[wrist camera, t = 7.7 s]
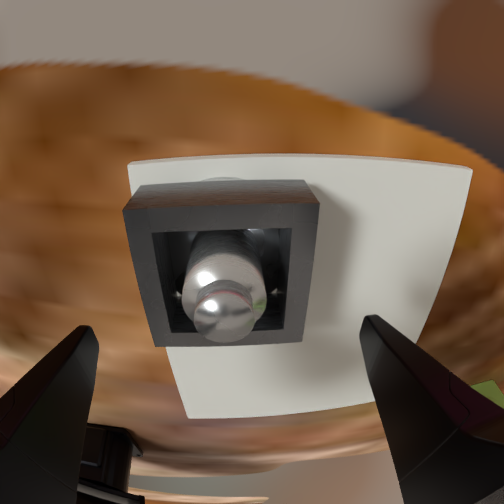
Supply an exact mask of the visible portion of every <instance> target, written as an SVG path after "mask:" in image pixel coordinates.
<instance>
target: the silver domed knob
mask: <svg viewBox="0 0 504 504" xmlns="http://www.w3.org/2000/svg"><path fill="white" fill-rule="evenodd" d="M226 180H245V179H241V178H235V177H214V178H208V179H204V180H201V181H226ZM198 182H200V181H198ZM279 236H280V228H269V229H234V230H205V231H179V232H168V239H169V246H170V253H171V259H172V266H173V272H174V278H175V284H176V290H177V292H178V293H180V294H181V295H182V305H183V309H184V311H185V313H186V314H187V316H188V317H189V318H190V319H191V320H192V321H193V322H194V325H195V328H196V329H197V331H198V332H199V333H200V334H201V335H202V336H203V337H205V338H207V339H209V340H212V341H215V342H222V343H227V342H234V341H237V340H240V339H242V338H244V337H245V336H247V335H248V334H249V333H250V332H251V330H252V329H253V327H254V323H255V322H256V321H257V320H258V319H259V318H260V317H261V315H262V314H263V312H264V310H265V308H266V303H267V296H266V294H269V293H272V292H273V291H274V290H275V289H277V273H278V255H279Z"/></svg>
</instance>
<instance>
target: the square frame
mask: <svg viewBox="0 0 504 504" xmlns="http://www.w3.org/2000/svg"><path fill="white" fill-rule="evenodd" d="M319 208H320V203H319V201H318V200H317V198H316V197H315V195H314V194H313V192H312V191H311V189H310V188H309V186H308V185H307V183H306V182H305V180H300V179H277V180H226V181H200V182H181V183H165V184H150V185H140V186H139V188H138V189H137V191H136V192H135V193H134V195H133V196H132V197H131V199H130V200H129V202H128V203H127V204H126V206H125V207H124V209H123V210H122V211H123V216H124V222H125V227H126V232H127V237H128V242H129V247H130V251H131V256H132V261H133V265H134V269H135V274H136V278H137V282H138V286H139V290H140V294H141V298H142V302H143V306H144V309H145V313H146V317H147V320H148V324H149V327H150V331H151V334H152V338H153V341H154V344H155V347H215V346H246V345H266V344H282V343H296V342H302V340H303V333H304V327H305V320H306V314H307V307H308V300H309V293H310V285H311V278H312V270H313V262H314V254H315V245H316V236H317V227H318V218H319ZM269 228H280V236H279V255H278V273H277V291H276V293H269V294H266V296H267V303H266V308H265V310H264V312H263V314H262V315H261V317H260V318H259V319H258V320H257V321H256V322H255V323H254V327H253V329H252V330H251V332H250V333H249V334H248V335H247V336H245V337H244V338H242V339H240V340H237V341H234V342H227V343H222V342H215V341H212V340H209V339H207V338H205V337H203V336H202V335H201V334H200V333H199V332H198V331H197V329H196V328H195V325H194V322H193V321H192V320H191V319H190V318H189V317H188V316H187V314H186V313H185V311H184V309H183V305H182V296H177V290H176V284H175V278H174V272H173V266H172V259H171V253H170V246H169V239H168V232H179V231H205V230H234V229H269Z"/></svg>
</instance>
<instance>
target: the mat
mask: <svg viewBox="0 0 504 504" xmlns="http://www.w3.org/2000/svg"><path fill="white" fill-rule="evenodd" d="M127 166H128V174H129V180H130V187H131V194H132V196H133V195H134V193H135V192H136V191H137V189H138V188H139V186H140V185H150V184H165V183H181V182H198V181H201V180H204V179H208V178H214V177H235V178H241V179H245V180H277V179H300V180H305V182H306V183H307V185H308V186H309V188H310V189H311V191H312V192H313V194H314V195H315V197H316V198H317V200H318V201H319V203H320V208H319V218H318V227H317V236H316V245H315V254H314V262H313V270H312V278H311V285H310V293H309V300H308V307H307V314H306V320H305V327H304V333H303V340H302V342H296V343H282V344H266V345H246V346H215V347H166V350H167V354H168V357H169V361H170V364H171V367H172V371H173V374H174V377H175V380H176V383H177V386H178V389H179V392H180V396H181V399H182V401H183V404H184V407H185V410H186V413H187V416H188V418H241V417H259V416H273V415H284V414H294V413H303V412H311V411H319V410H326V409H333V408H339V407H345V406H351V405H357V404H362V403H367V402H372V401H375V399H374V396H373V392H372V389H371V386H370V383H369V380H368V376H367V372H366V367H365V363H364V358H363V353H362V349H361V344H360V340H359V333H360V329H361V326H362V322H363V319H364V317H365V316H366V315H372V314H377V315H379V316H380V317H381V318H383V319H384V320H385V321H386V322H388V323H389V324H390V325H392V326H393V327H394V328H396V329H397V330H398V331H399V332H401V333H402V334H403V335H405V336H406V337H407V338H409V339H410V340H411V341H412V342H414V343H415V344H416V342H417V340H418V338H419V336H420V333H421V331H422V329H423V327H424V324H425V322H426V320H427V317H428V315H429V313H430V310H431V308H432V305H433V303H434V300H435V298H436V295H437V293H438V290H439V287H440V285H441V282H442V279H443V276H444V274H445V271H446V268H447V265H448V262H449V259H450V256H451V253H452V250H453V246H454V243H455V240H456V237H457V233H458V230H459V226H460V223H461V219H462V215H463V211H464V207H465V203H466V199H467V195H468V191H469V186H470V182H471V177H472V172H473V170H472V169H470V168H468V167H467V166H460V165H453V164H445V163H437V162H428V161H419V160H409V159H398V158H385V157H371V156H354V155H331V154H234V155H210V156H193V157H178V158H166V159H154V160H144V161H134V162H131V163H130V164H128V165H127ZM276 291H277V289H275V290H274V291H273V292H272V293H276ZM177 296H182V295H181V294H180V293H178V292H177Z"/></svg>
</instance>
